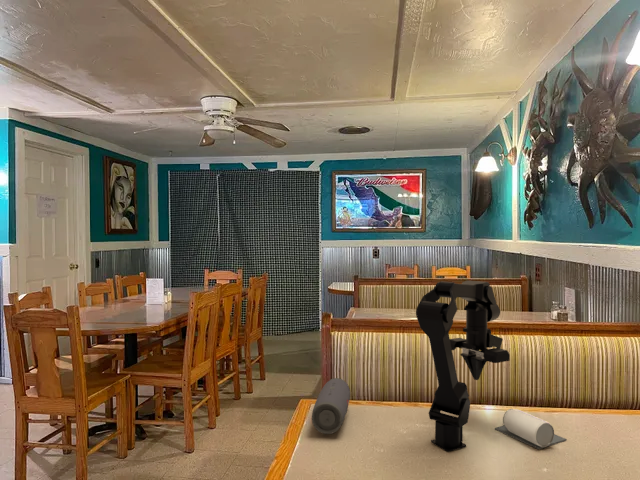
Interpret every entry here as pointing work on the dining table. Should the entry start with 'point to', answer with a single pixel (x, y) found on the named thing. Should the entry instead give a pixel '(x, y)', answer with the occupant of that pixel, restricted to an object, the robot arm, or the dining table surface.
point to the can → (529, 427)
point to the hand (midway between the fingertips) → (476, 379)
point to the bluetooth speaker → (331, 406)
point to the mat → (504, 430)
